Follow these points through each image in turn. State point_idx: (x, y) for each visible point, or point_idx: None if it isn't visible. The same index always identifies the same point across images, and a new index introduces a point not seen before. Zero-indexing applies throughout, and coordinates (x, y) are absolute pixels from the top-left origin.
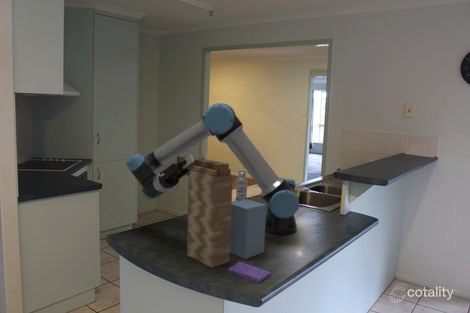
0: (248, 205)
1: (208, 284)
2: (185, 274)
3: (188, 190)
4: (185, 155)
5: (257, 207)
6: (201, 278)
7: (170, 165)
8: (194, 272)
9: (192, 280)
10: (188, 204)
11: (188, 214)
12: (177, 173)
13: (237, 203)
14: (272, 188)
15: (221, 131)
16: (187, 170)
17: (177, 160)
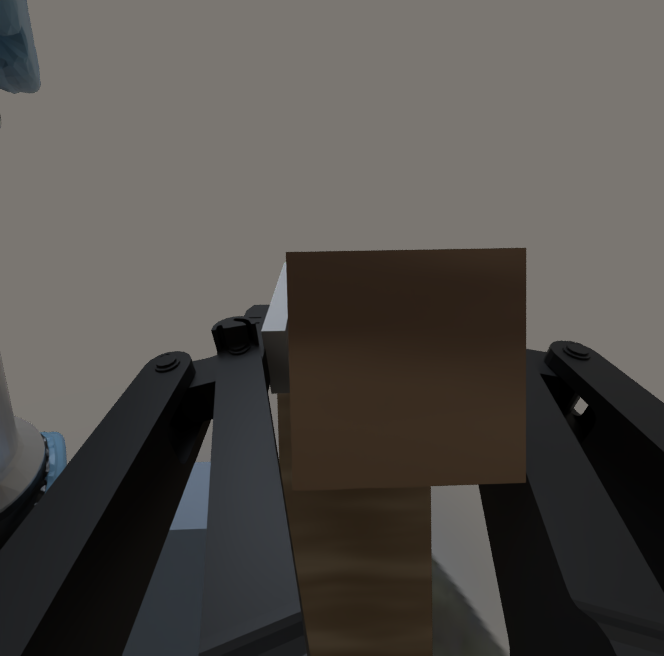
0: (203, 477)
1: (435, 566)
2: (485, 652)
3: (430, 500)
4: (306, 256)
5: (203, 464)
6: (442, 599)
7: (638, 385)
8: (451, 646)
9: (470, 604)
10: (430, 589)
11: (429, 650)
12: (507, 595)
13: (197, 507)
14: (37, 445)
15: (36, 71)
16: (291, 539)
17: (511, 342)
